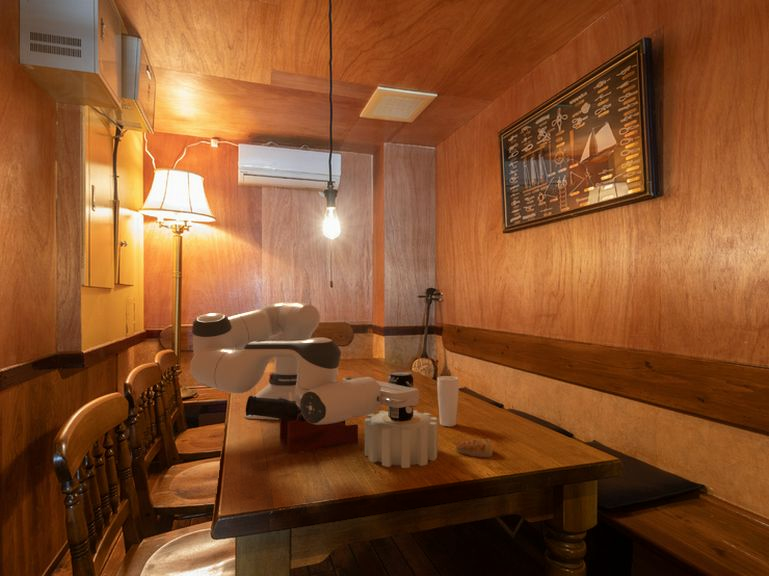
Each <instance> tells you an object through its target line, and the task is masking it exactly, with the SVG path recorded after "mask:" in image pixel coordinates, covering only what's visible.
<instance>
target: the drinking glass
mask: <svg viewBox="0 0 769 576" xmlns="http://www.w3.org/2000/svg"><path fill="white" fill-rule="evenodd" d="M436 388H437V390H436V391H437V404H438V413H439V414H438V416H439V417H438V418H439V425H440V426H442V427H446V426H447V428H449V427H451V428H452V427H455V426H456V425H457V413H458V402H459V392H460V391H459V378H458V376H451V375H441V376H440V375H439V376H438V377H437V385H436Z"/></svg>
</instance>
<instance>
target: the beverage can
mask: <svg viewBox="0 0 769 576" xmlns="http://www.w3.org/2000/svg"><path fill="white" fill-rule="evenodd" d="M412 374H413V373H412V372H411V371H409V370H392V371H390V373H389V376H388V378H387V380H388V381H387V382H388V383H391V384H396V385H400V386H405V387H410V386H414V377H413V375H412ZM387 408H388V410H387V412H388V416H389V417H390V419H391V420H394V421H408V420H410V419H411V418H412V417H413V410H414V405H413V406H408V407H401V408H394V407H390V406H387Z"/></svg>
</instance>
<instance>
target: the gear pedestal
mask: <svg viewBox="0 0 769 576" xmlns="http://www.w3.org/2000/svg"><path fill="white" fill-rule="evenodd" d="M438 429H439V427H438V418H437V416H432V413H429V412H423V413H421V412H419V411H418V410H414V409H413V417H412V418H411V419H410V420H408V421H394V420H391V419H390V417H389V416H388V411H386V410H377V414H375V413H372V414H368V415H366V418H364V456H365V457H366V456H367V457H368V459H367V460H368V461H369V462H371V463H377V462H378V463H381V466H382V467H387V468H390V467H391V466H400V467H401V469H407V468H409V469H410V468H411V466H414V465H418V466H420V467H423V466H426V465H428V461H434V462H435V461H436V460H437V458H438V450H439V449H438V444H439V443H438V438H439V436H438V431H439V430H438Z"/></svg>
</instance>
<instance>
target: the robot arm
mask: <svg viewBox="0 0 769 576" xmlns="http://www.w3.org/2000/svg"><path fill="white" fill-rule="evenodd" d="M320 322H321V315H320V311H319V309H318V308H317V307H315V306H314V305H313V304H310V303H308V302H302V301H278V302H275V303H271V304H268V305H266V306H263V307H262V308H261V307H260V308H258V309H253V310H251V311H245V312H242V313H239V314H234V315H231V316H227V315H225V314H223V313H219V312H210V313H205V314H202V315H199V316H198V317H196V319H194V320H193V322H192V327H191V334H192V350H193V357H192V358H191V360H190V364H189V371H190V374H191V376H192V377H193V379H195V380H196V381H198V382H199V383H200V384H202V385H203V386H206V387H208V388H212V389H215V390H219V391H222V392H225V393H229V394H244V393H247V392H249V391H250V390H252V389H254V388H255V387H256V386H257V385H258V384H259V382H260V381H261V379H262V378H263V376H264V373H265V371H266V369H267V367H268V364H269V363H270V361H271V359H272V358H273V357H274V371H271V372H270V373H269V375H268V383H267V385H266V386H264V387H263V388H262V389H261V390H260V391H258V392H257V393H256V394H255V395H253V397H255V396H256V397H259V398H271V399H283V398H284V399H286V400H289V401H295V403H296V405H297V407H298V408H299V409H300V410H301V413H302V415H303V417H304V418H305V420H306V421H308V422H309V423H311V424H316V425H322V424H331V423H337V422H341V421H345V422H346V421H347V420H349V419H351V418H359V417H363V416H367V415H369V414H375V413H376V412H378V411H379V409H380V408H381V405H383V406H387V407H388V406H390V407H394V408H401V407H408V406H413V407H414V406H416V405H418V404H419V402H420V401H419V400H420V394H419V393H420V391H419V389H418V388H417V386H415V385H413V386H410V387H405V386H400V385H396V384H391V383H388V381H381V380H377V379H375V378H373V377H371V376H363V377H360V376H359V377H347V376H346V377H343V378H342V379H341V381H338V371H339V366H340V361H341V355H342V351H341V349H340V348H339V346H338V345H337V343H336V342H335V340H333V339H331V338H327V337H322V336H321V337H319V336H318V337H312V335H313V333H314V332H315V330H316V329H317V328H318V327H319V324H320ZM280 334H282V336H281V339H271V338H272V337H273V338H274V336H277V335H280ZM244 418H246V419H253V420H255V419H256V420H257V419H258V420H277V421H278V420H279V418H272V417H264V416H256V415H253V416H251V415H249V416H247V415H246V413H245V412H244ZM279 421H280V420H279Z"/></svg>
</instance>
